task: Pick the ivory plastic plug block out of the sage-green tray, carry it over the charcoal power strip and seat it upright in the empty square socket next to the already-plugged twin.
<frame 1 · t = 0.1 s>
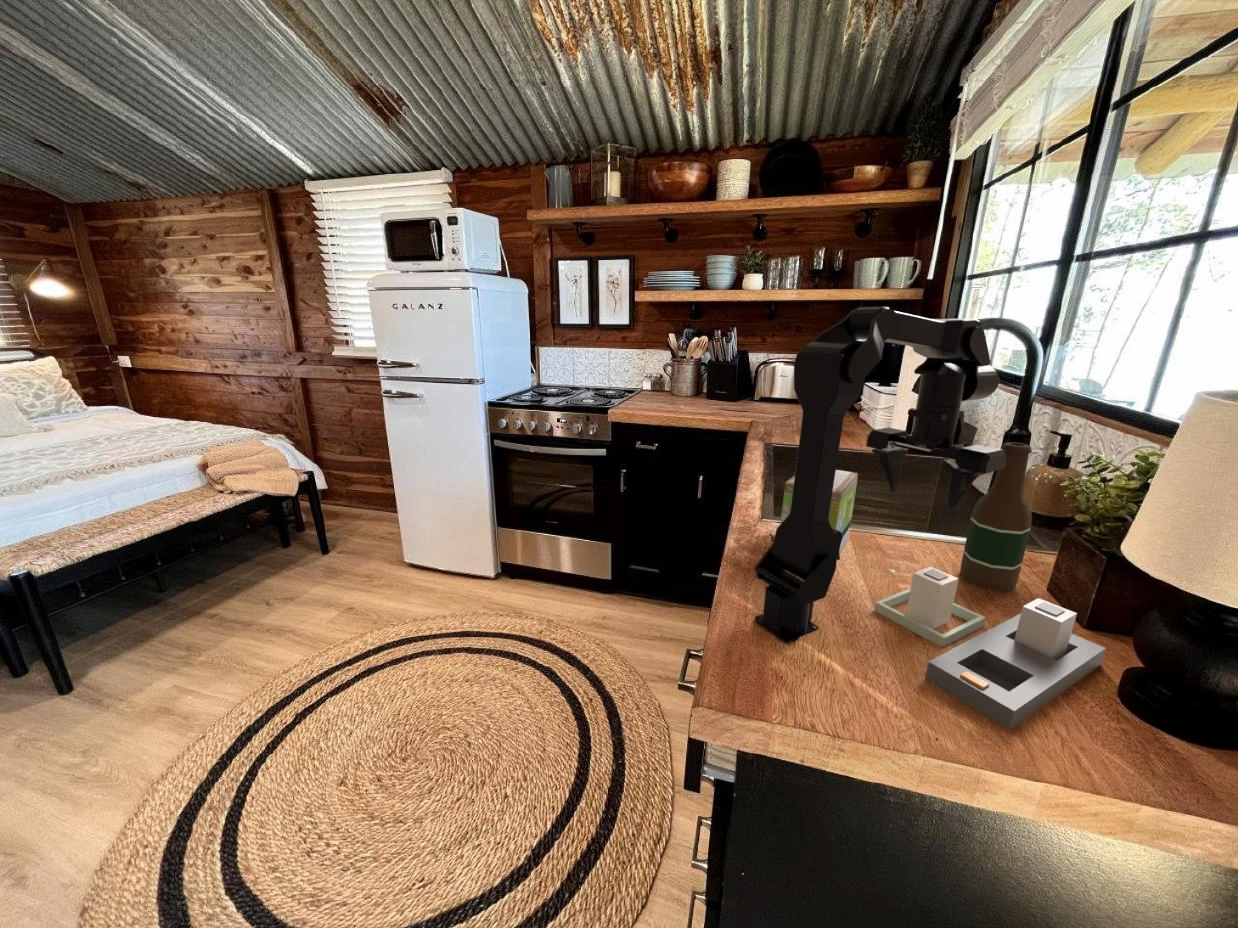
hand: (921, 499, 80), 15 cm above the worktop, fingers open, 9 cm apart
twin plug: (1036, 657, 64), point 1 cm above the worktop, touching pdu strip
iec plug: (927, 618, 73), resting on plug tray
beer bottle: (986, 583, 84), on the worktop
tea box: (813, 549, 96), on the worktop
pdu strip: (1013, 675, 62), on the worktop
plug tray: (926, 621, 73), on the worktop
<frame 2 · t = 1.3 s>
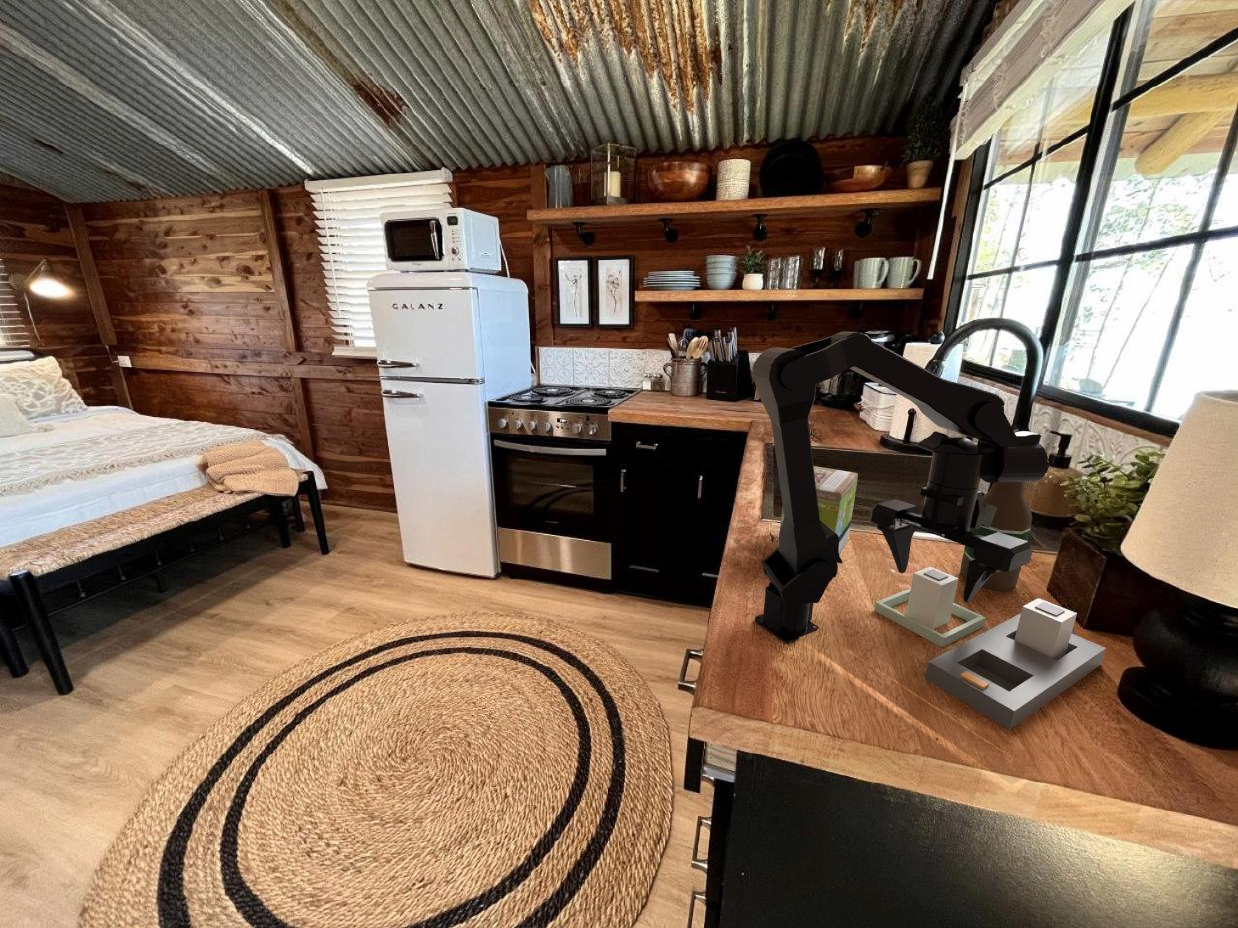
hand: (932, 586, 71), 6 cm above the worktop, fingers open, 9 cm apart
nothing on the worktop moved.
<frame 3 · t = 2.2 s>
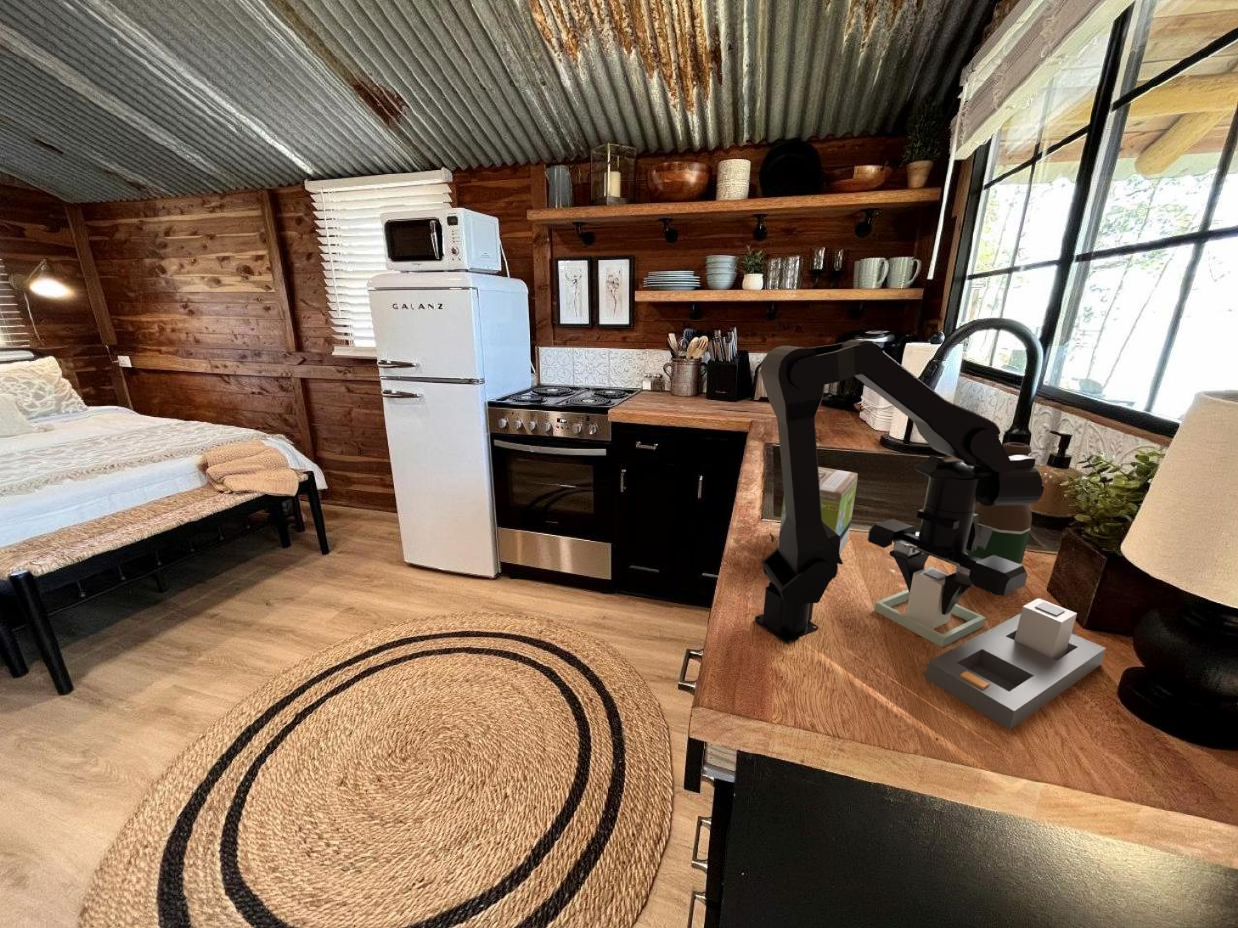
hand: (929, 606, 72), 3 cm above the worktop, fingers closed on iec plug, 4 cm apart
iec plug: (927, 618, 73), resting on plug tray, touching gripper
everything else where it was.
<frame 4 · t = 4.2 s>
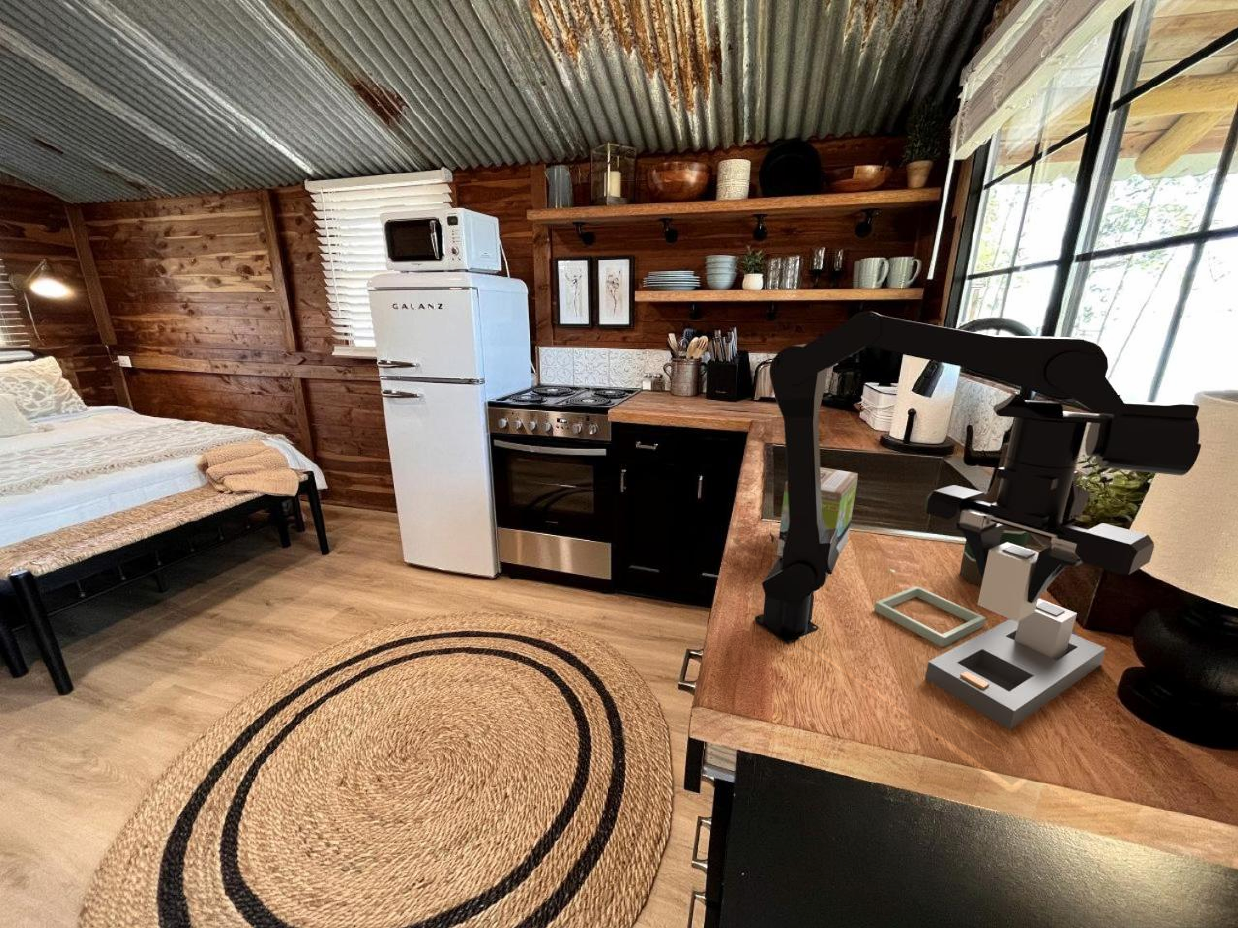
hand: (1009, 592, 56), 13 cm above the worktop, fingers closed on iec plug, 4 cm apart
iec plug: (1005, 608, 57), point 11 cm above the worktop, touching gripper
everything else where it was.
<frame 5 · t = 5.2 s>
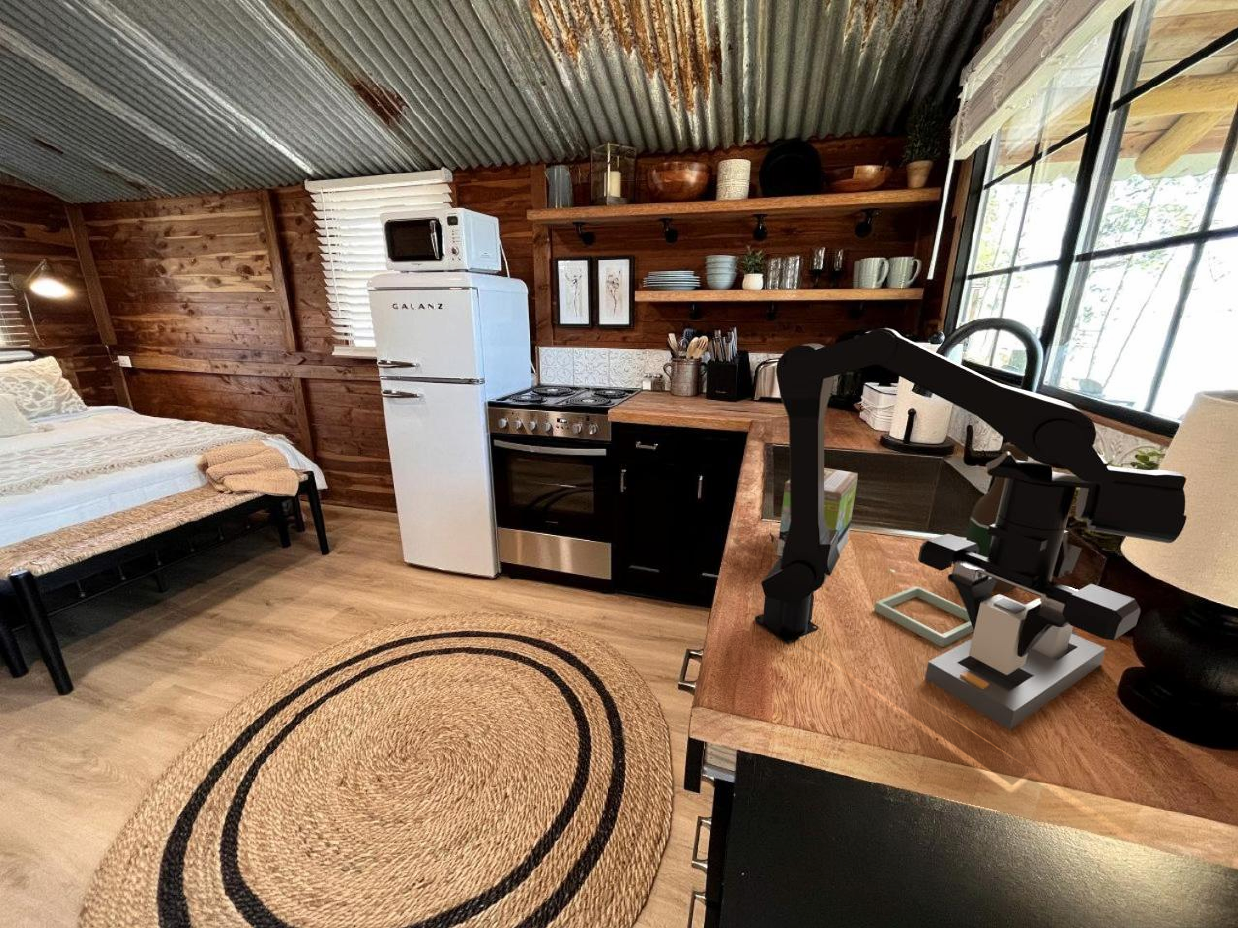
hand: (999, 644, 58), 6 cm above the worktop, fingers closed on iec plug, 4 cm apart
iec plug: (996, 659, 58), point 4 cm above the worktop, touching gripper
everything else where it was.
when the fingers open (4 cm above the worktop, at t = 6.0 s): iec plug drops 1 cm, resting on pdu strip.
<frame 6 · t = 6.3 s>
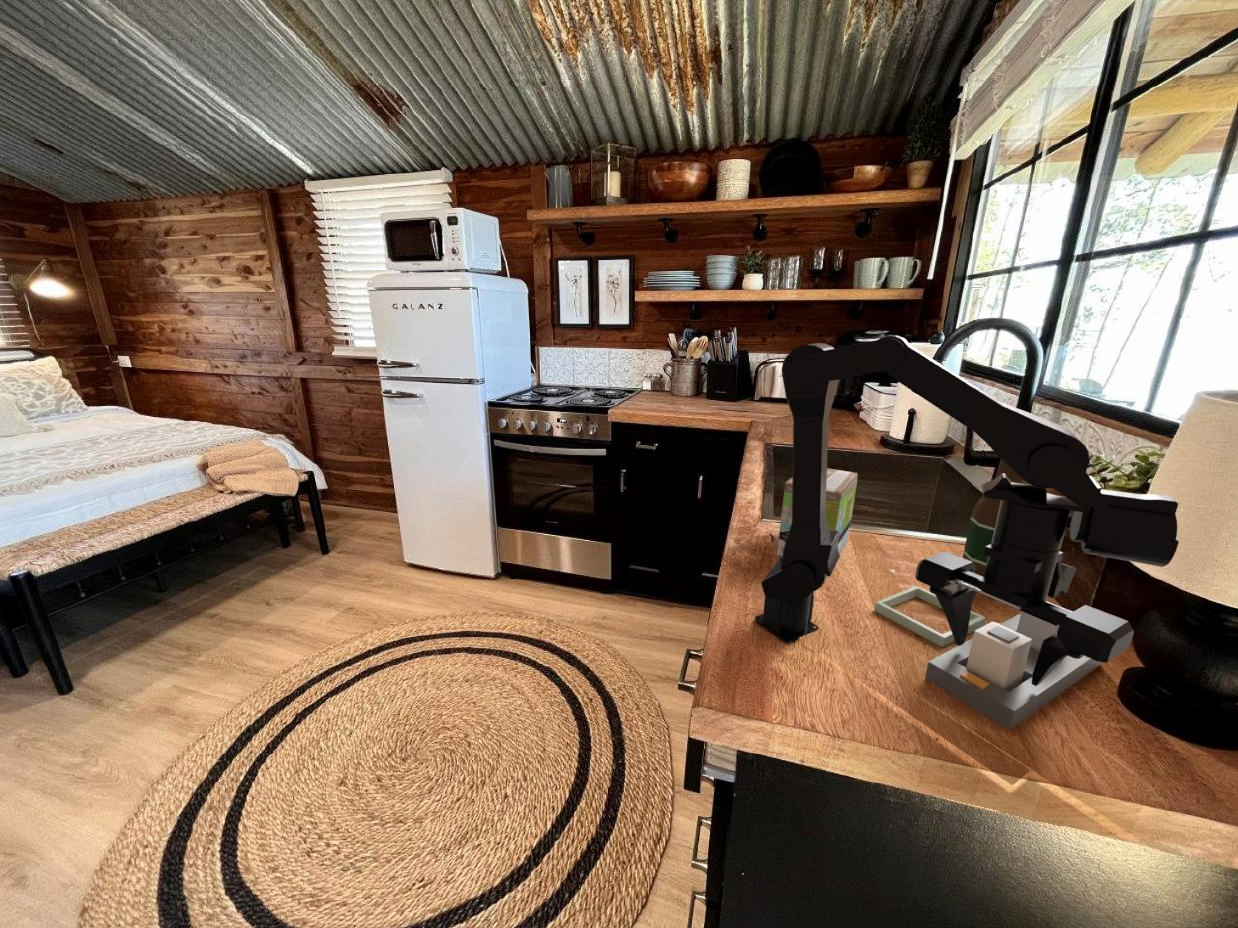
hand: (995, 663, 58), 4 cm above the worktop, fingers open, 8 cm apart
iec plug: (990, 685, 59), point 1 cm above the worktop, touching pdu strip
everything else where it was.
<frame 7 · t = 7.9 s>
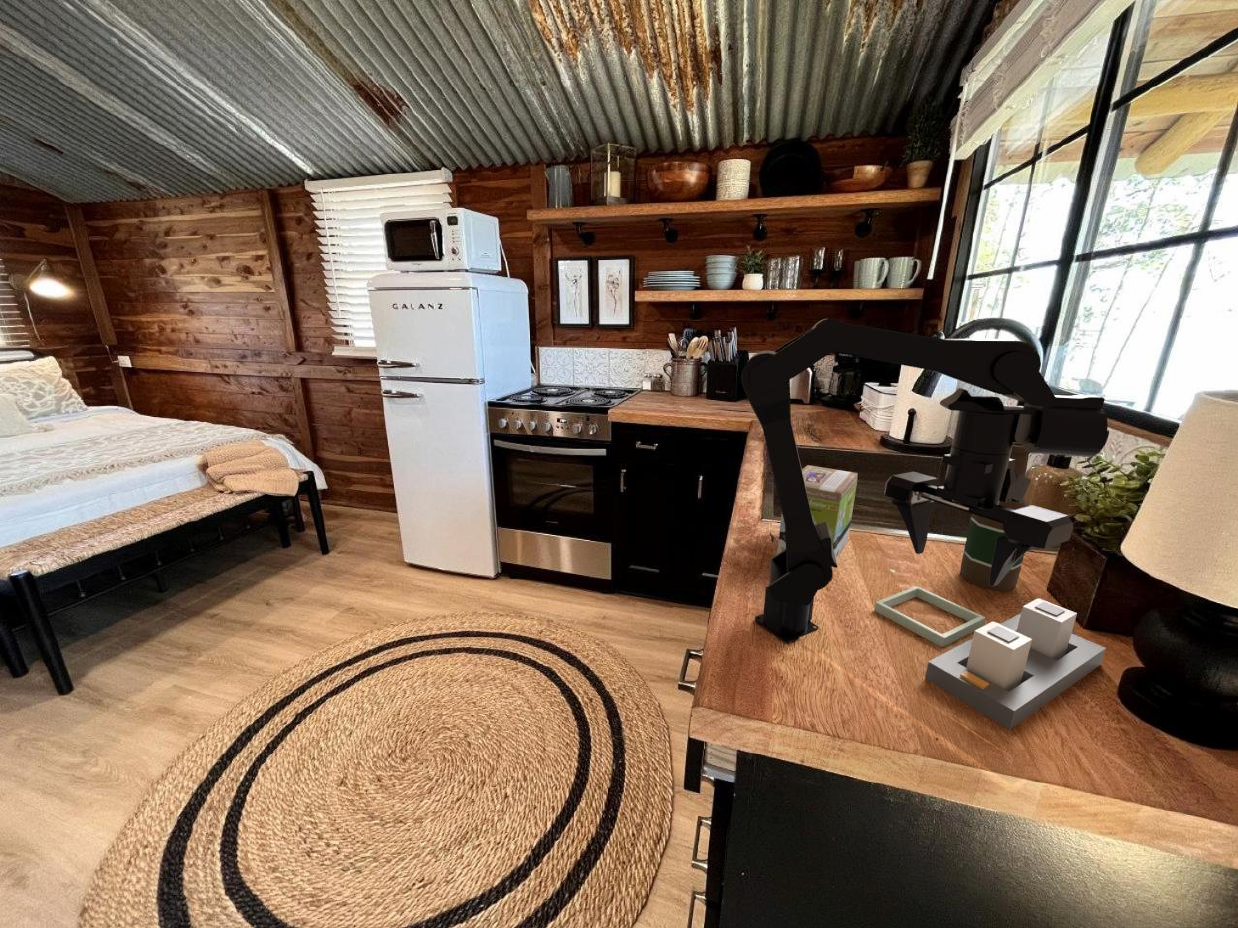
hand: (954, 568, 63), 12 cm above the worktop, fingers open, 9 cm apart
nothing on the worktop moved.
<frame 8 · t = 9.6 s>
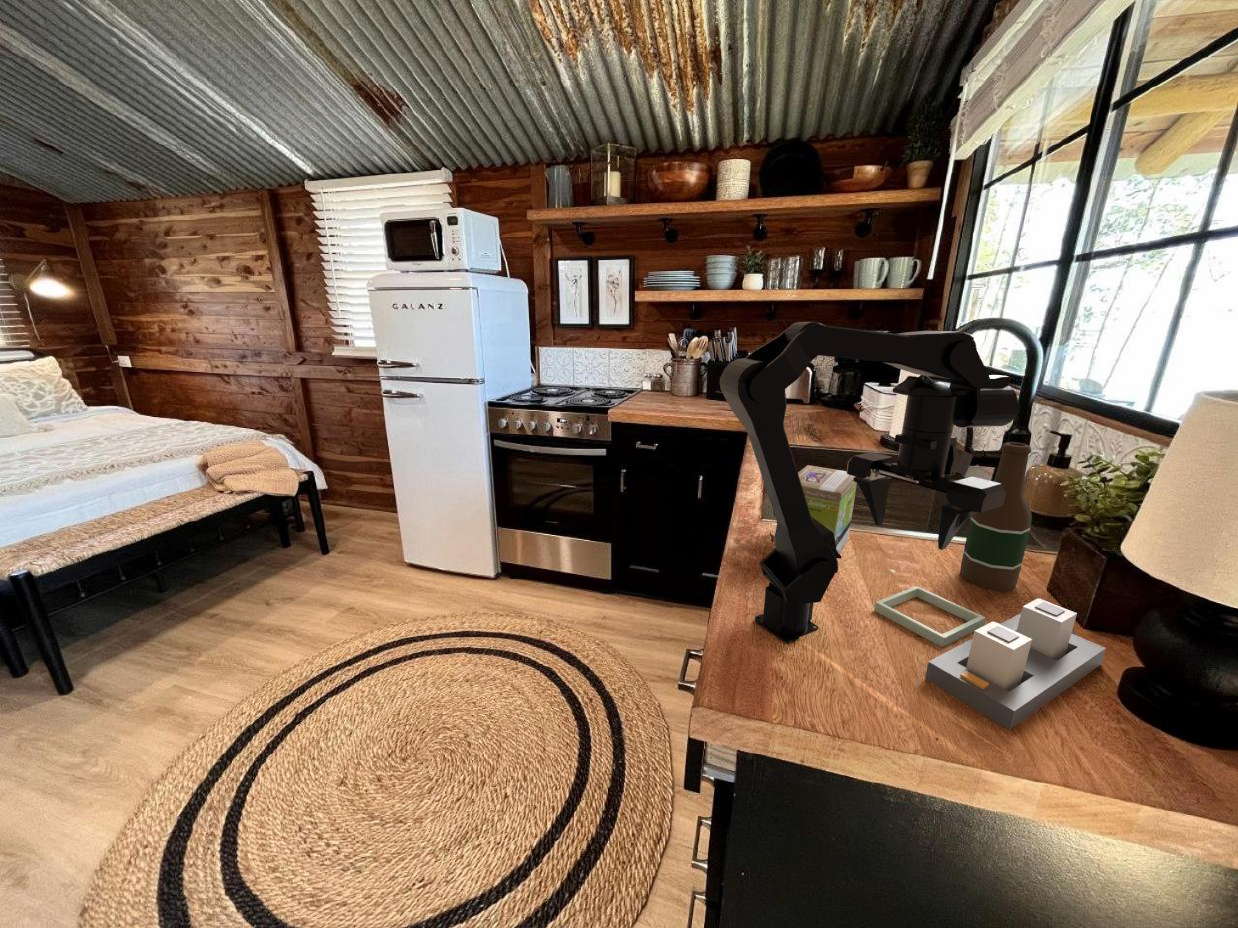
hand: (908, 536, 70), 13 cm above the worktop, fingers open, 9 cm apart
nothing on the worktop moved.
at the end: iec plug 0.1 cm from the target spot on the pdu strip, point 0.6 cm above the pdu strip's base; iec plug tilted 0°; the gripper is holding nothing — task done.
